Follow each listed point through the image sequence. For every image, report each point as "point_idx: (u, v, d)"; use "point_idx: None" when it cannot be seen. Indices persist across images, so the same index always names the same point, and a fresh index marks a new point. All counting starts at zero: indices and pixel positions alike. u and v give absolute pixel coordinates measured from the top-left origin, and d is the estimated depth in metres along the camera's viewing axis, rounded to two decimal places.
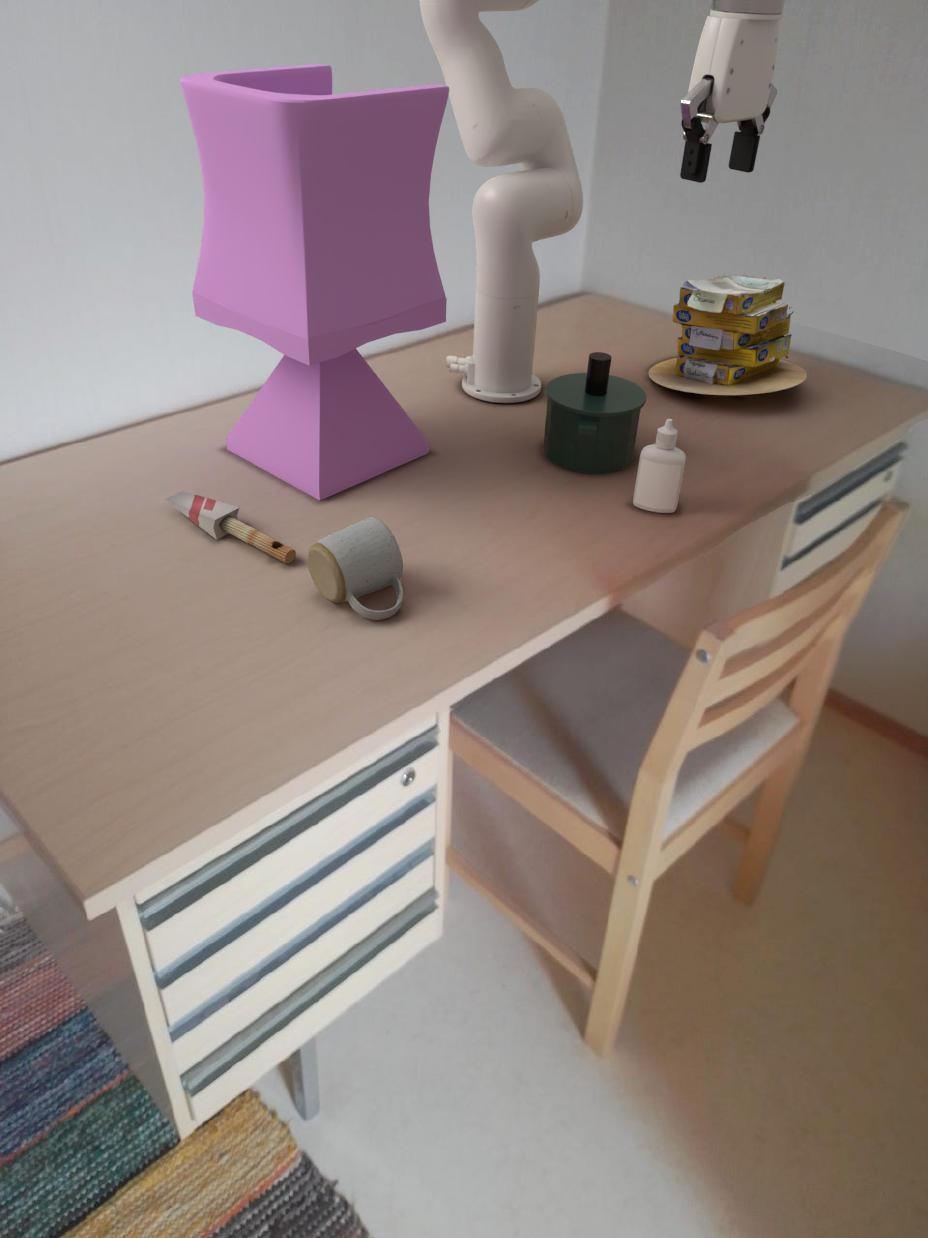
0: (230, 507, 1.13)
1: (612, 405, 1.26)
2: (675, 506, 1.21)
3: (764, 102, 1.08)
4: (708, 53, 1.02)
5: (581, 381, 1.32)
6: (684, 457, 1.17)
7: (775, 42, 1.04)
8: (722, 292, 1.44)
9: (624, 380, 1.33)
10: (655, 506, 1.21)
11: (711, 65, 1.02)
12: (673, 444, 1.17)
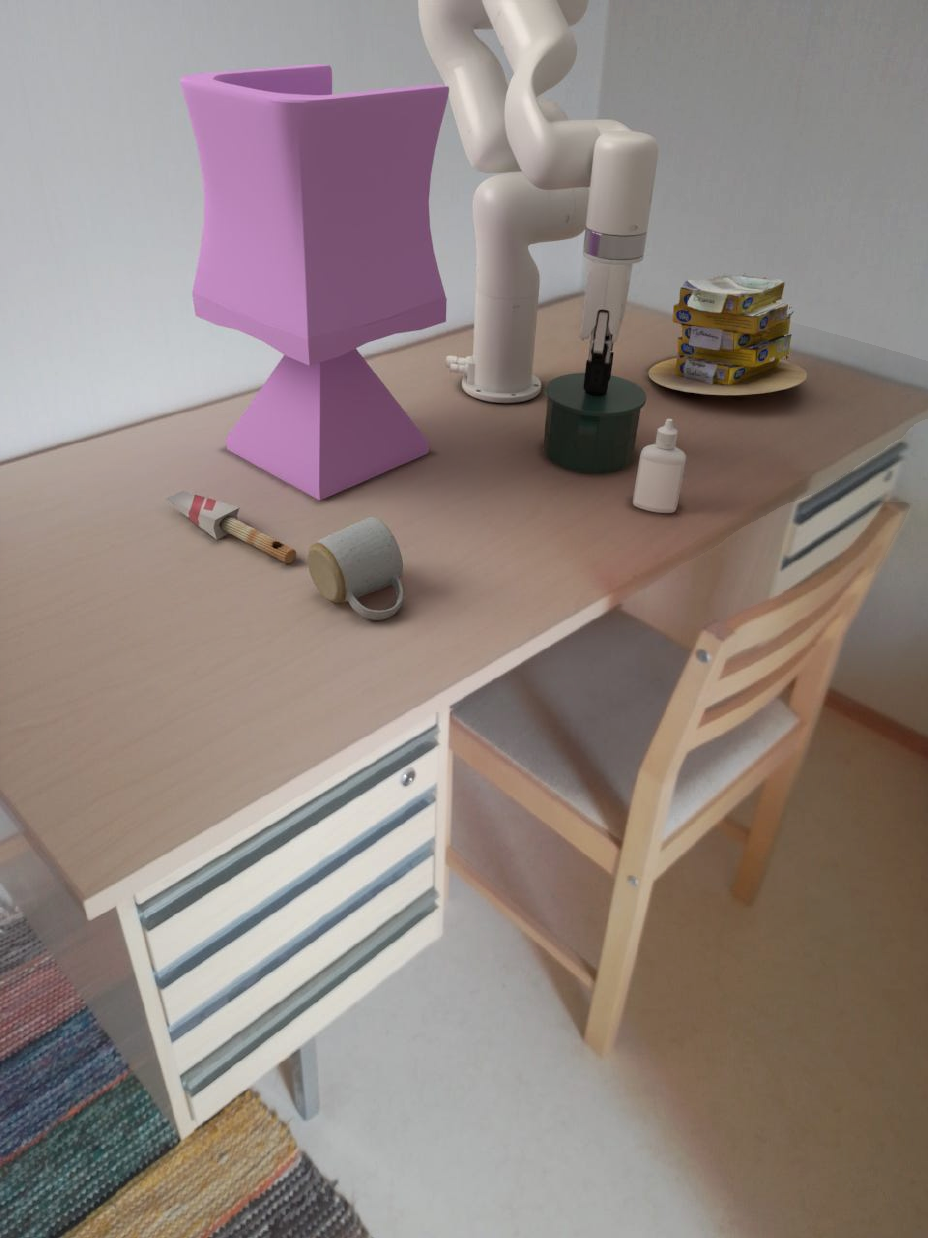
0: (230, 507, 1.13)
1: (612, 405, 1.26)
2: (675, 506, 1.21)
3: None
4: (601, 293, 1.17)
5: (581, 381, 1.32)
6: (684, 457, 1.17)
7: None
8: (722, 292, 1.44)
9: (624, 380, 1.33)
10: (655, 506, 1.21)
11: (605, 302, 1.17)
12: (673, 444, 1.17)
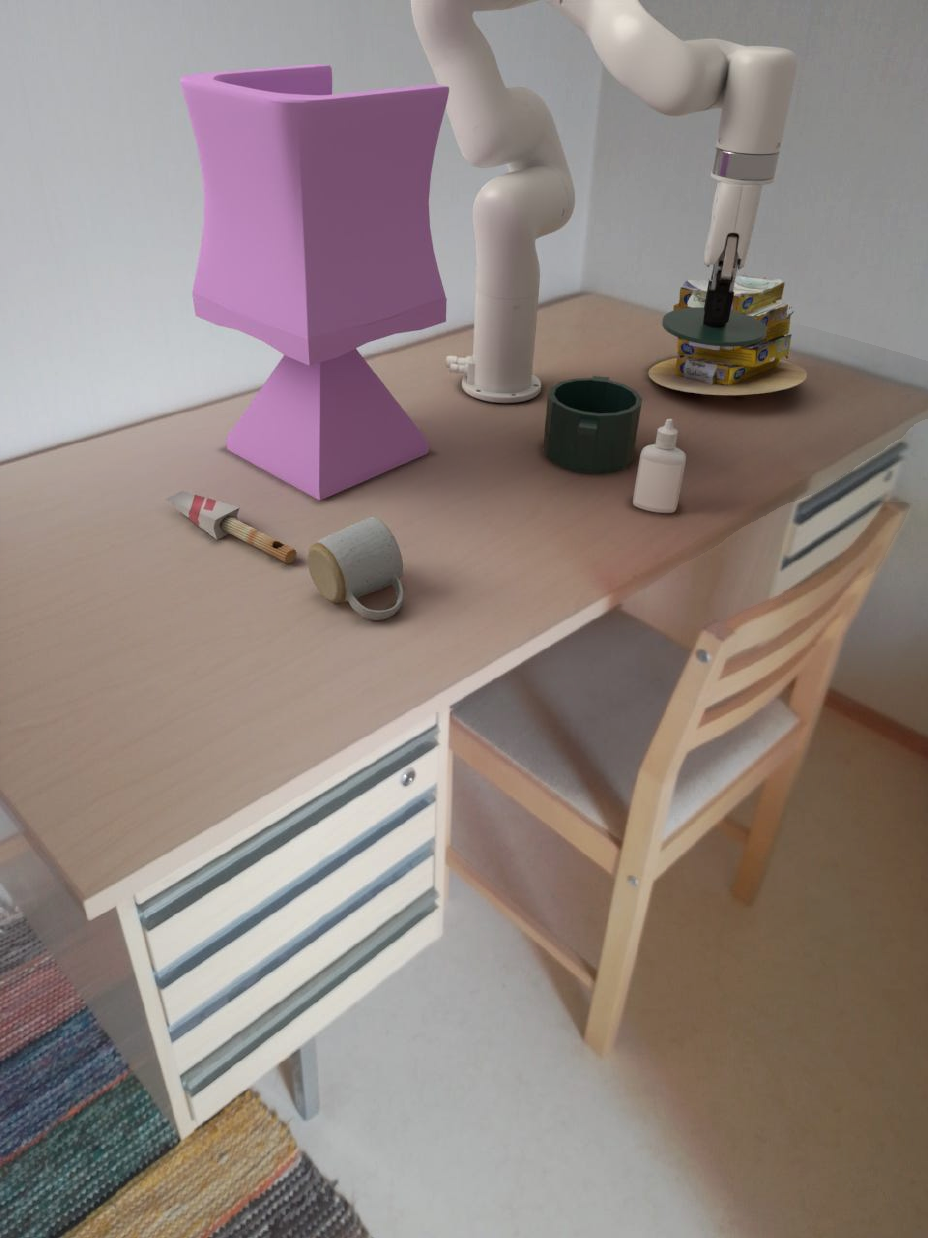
0: (230, 507, 1.13)
1: (734, 335, 1.23)
2: (675, 506, 1.21)
3: None
4: (732, 215, 1.14)
5: (697, 314, 1.29)
6: (684, 457, 1.17)
7: None
8: None
9: (740, 314, 1.30)
10: (655, 506, 1.21)
11: (736, 225, 1.14)
12: (673, 444, 1.17)
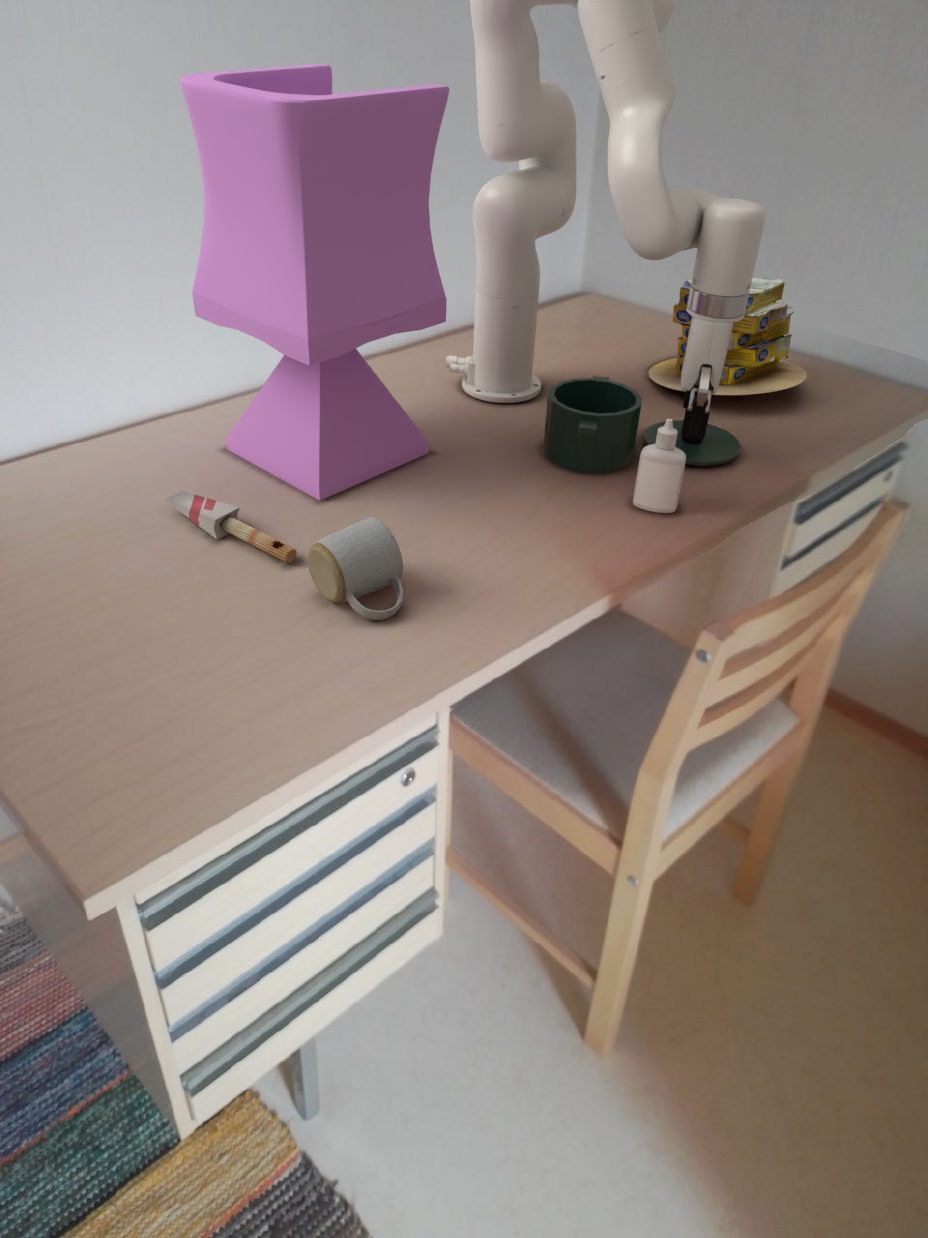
0: (231, 507, 1.13)
1: (709, 454, 1.33)
2: (675, 506, 1.21)
3: None
4: (705, 349, 1.24)
5: (676, 429, 1.39)
6: (684, 457, 1.17)
7: None
8: None
9: (716, 428, 1.40)
10: (655, 506, 1.21)
11: (709, 357, 1.24)
12: (673, 444, 1.17)
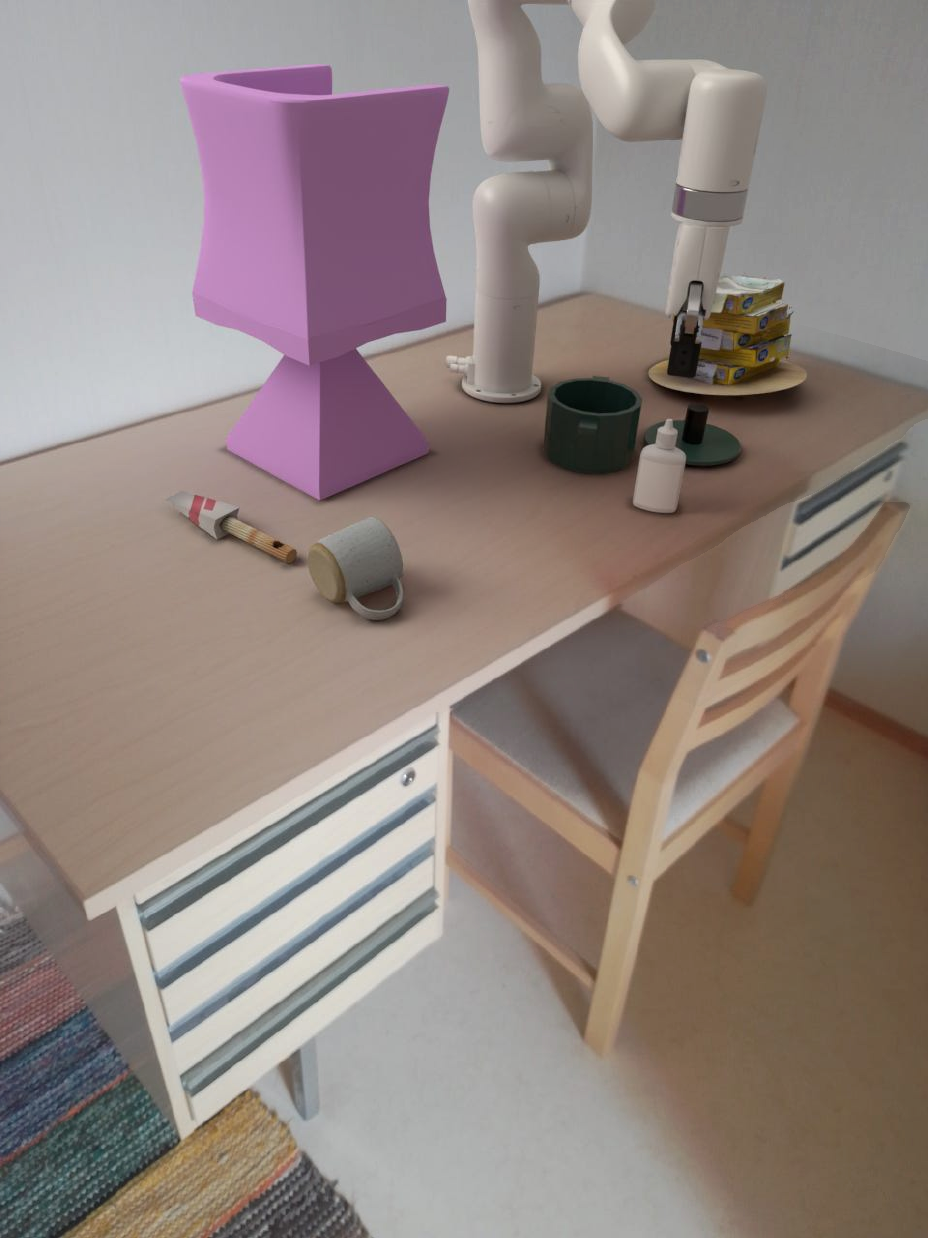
0: (231, 507, 1.13)
1: (709, 454, 1.33)
2: (675, 506, 1.21)
3: None
4: (695, 261, 1.00)
5: (676, 429, 1.39)
6: (684, 457, 1.17)
7: None
8: (722, 292, 1.44)
9: (716, 428, 1.40)
10: (655, 506, 1.21)
11: (699, 272, 1.00)
12: (673, 444, 1.17)
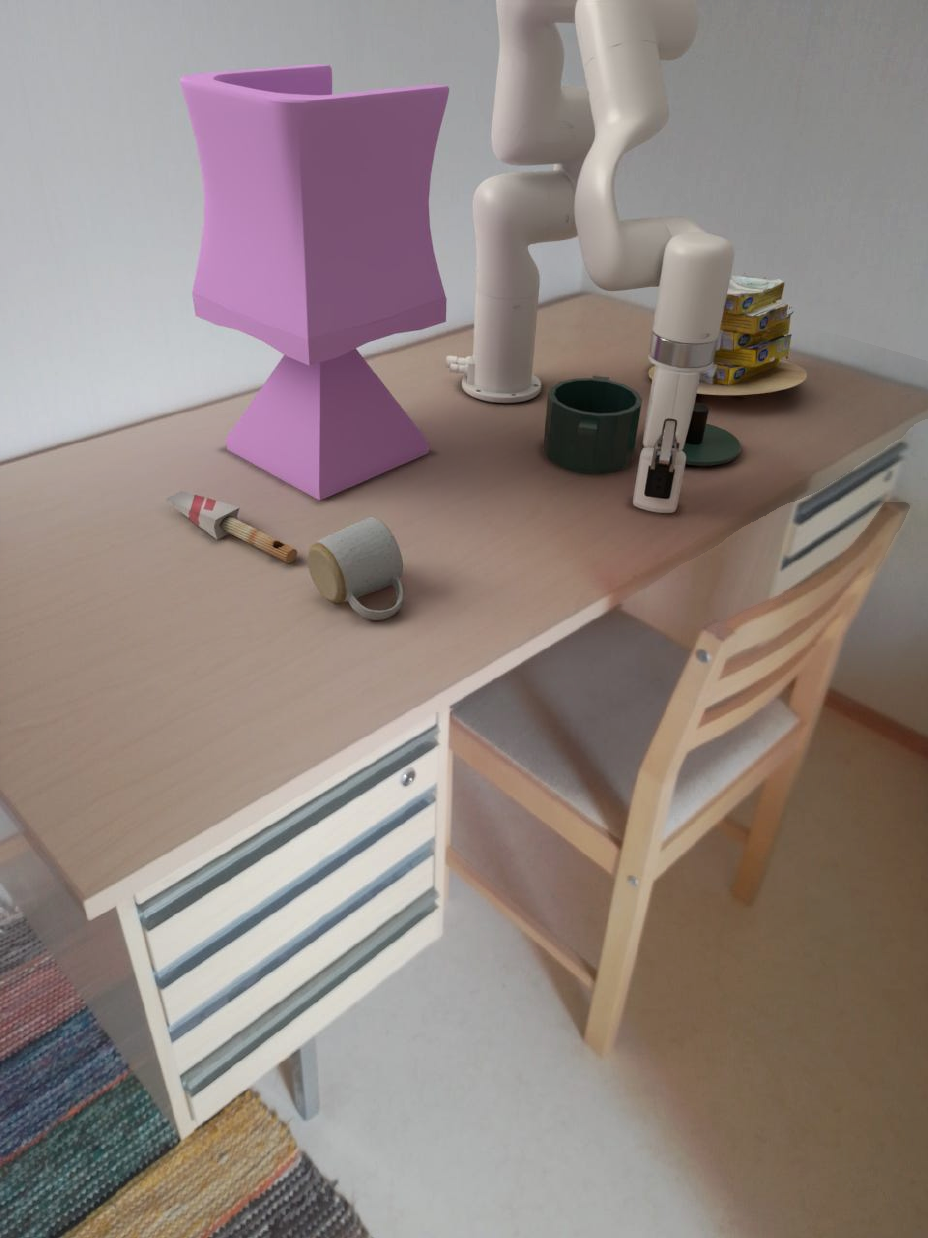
0: (231, 507, 1.13)
1: (709, 454, 1.33)
2: (675, 506, 1.21)
3: None
4: (669, 402, 1.09)
5: None
6: (684, 457, 1.17)
7: None
8: None
9: (716, 428, 1.40)
10: (655, 506, 1.21)
11: (673, 411, 1.10)
12: (673, 444, 1.17)
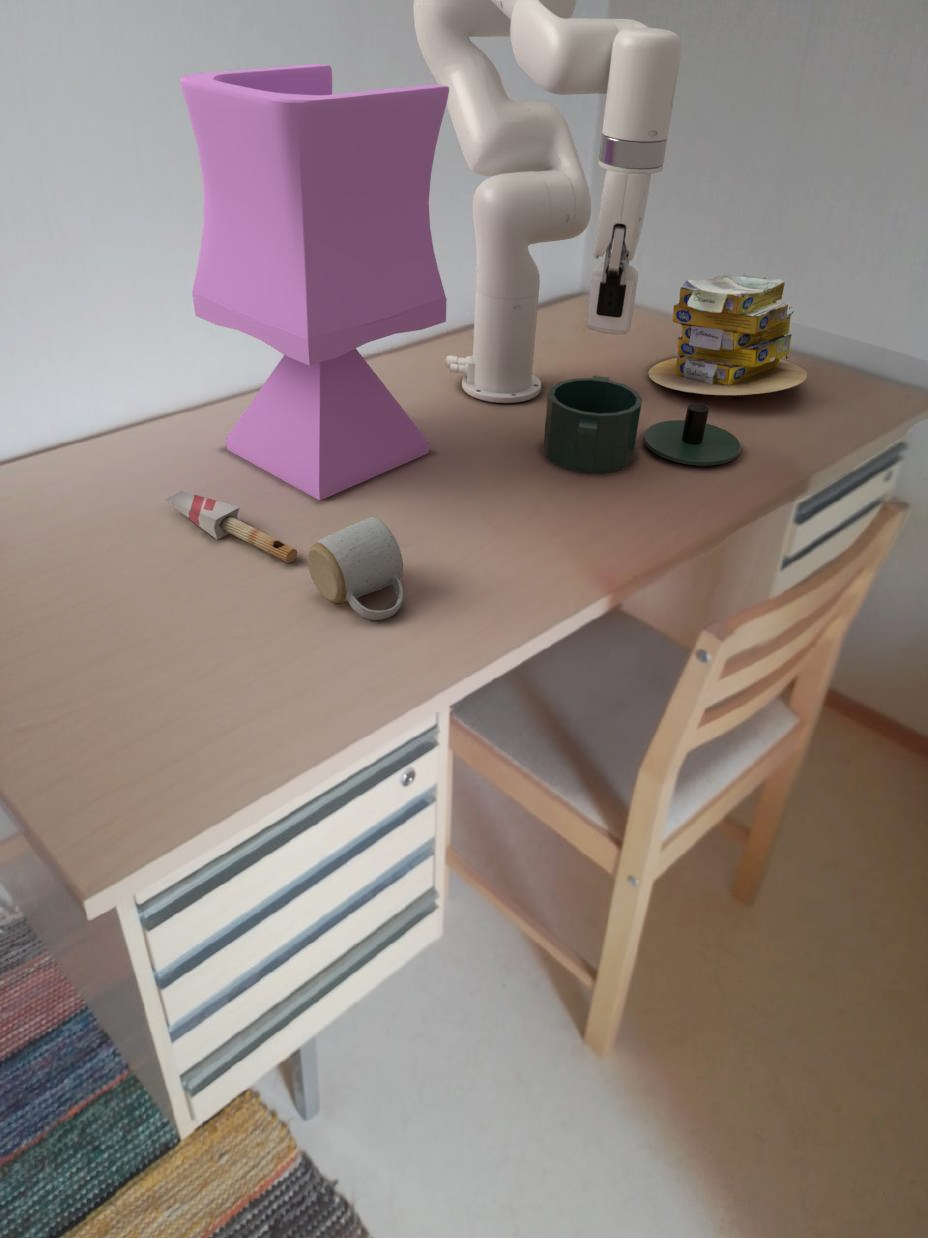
0: (231, 507, 1.13)
1: (709, 454, 1.33)
2: (628, 327, 1.21)
3: None
4: (618, 205, 1.10)
5: (676, 429, 1.39)
6: (636, 272, 1.18)
7: None
8: (722, 292, 1.44)
9: (716, 428, 1.40)
10: (608, 326, 1.21)
11: (622, 215, 1.10)
12: None
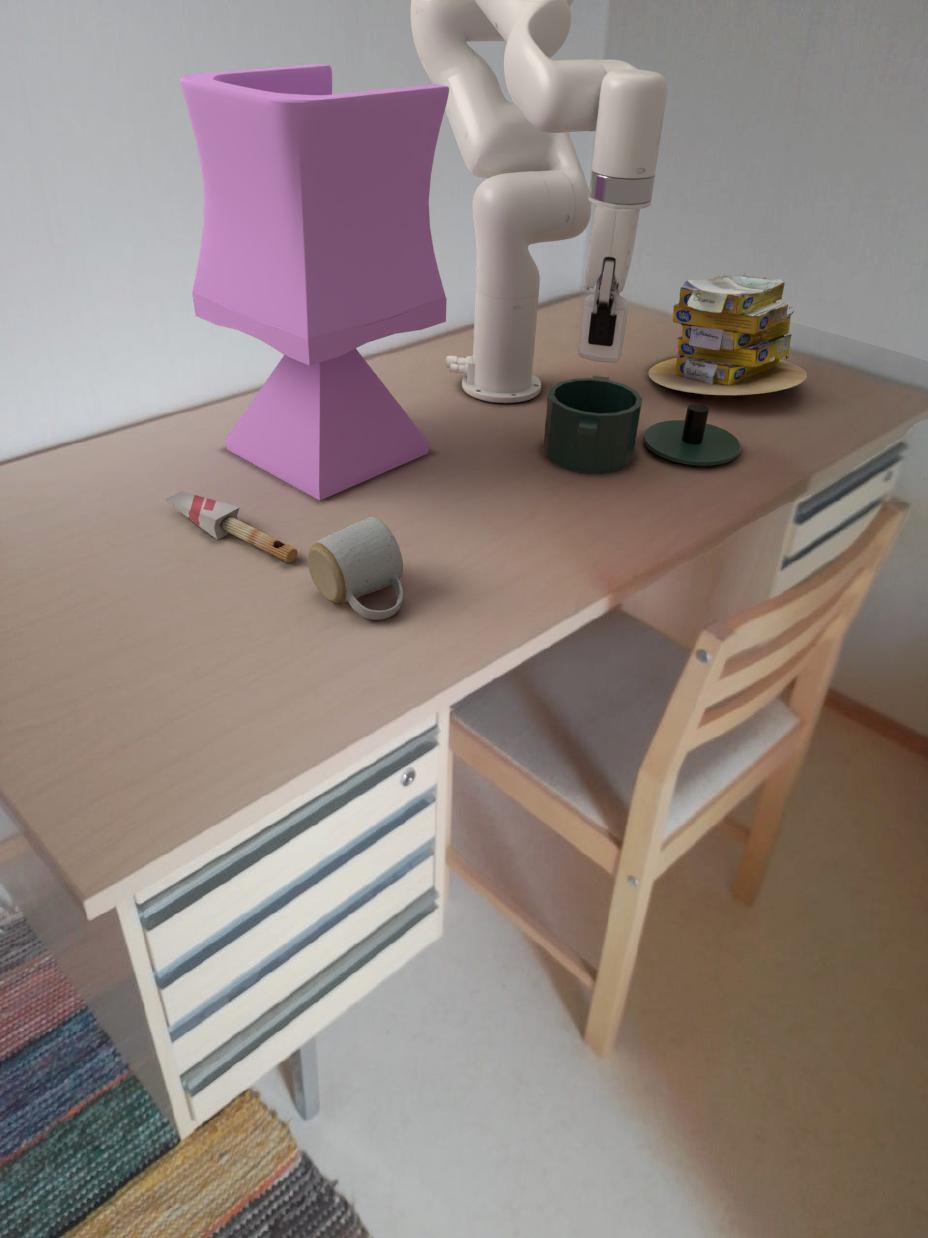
0: (231, 507, 1.13)
1: (709, 454, 1.33)
2: (619, 355, 1.24)
3: None
4: (607, 239, 1.13)
5: (676, 429, 1.39)
6: (626, 303, 1.21)
7: None
8: (722, 292, 1.44)
9: (716, 428, 1.40)
10: (599, 355, 1.24)
11: (611, 249, 1.13)
12: None
